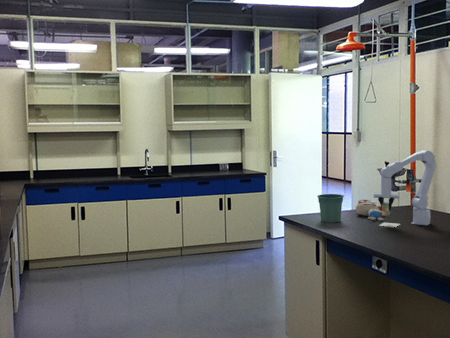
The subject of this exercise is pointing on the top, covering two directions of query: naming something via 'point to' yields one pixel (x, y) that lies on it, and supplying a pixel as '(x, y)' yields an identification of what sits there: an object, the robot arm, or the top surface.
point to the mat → (389, 225)
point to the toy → (369, 209)
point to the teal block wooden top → (385, 208)
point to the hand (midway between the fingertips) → (386, 210)
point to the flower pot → (330, 207)
